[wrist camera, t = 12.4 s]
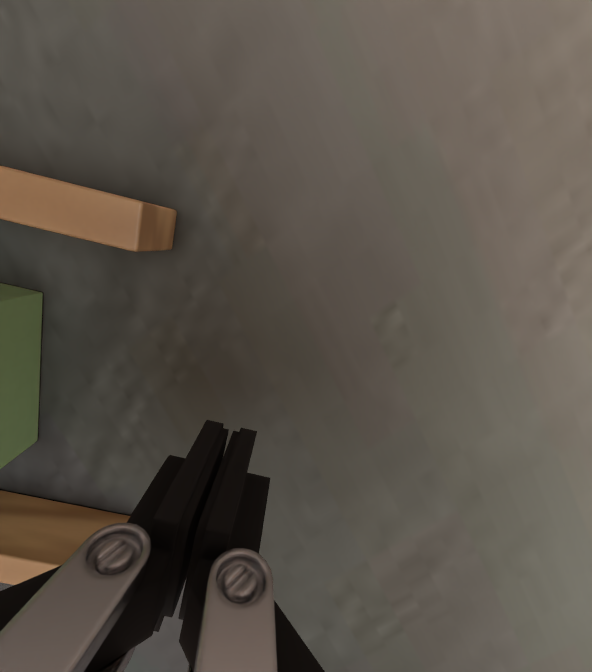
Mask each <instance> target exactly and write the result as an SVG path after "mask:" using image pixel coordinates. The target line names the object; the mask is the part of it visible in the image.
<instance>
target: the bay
mask: <svg viewBox="0 0 592 672" xmlns="http://www.w3.org/2000/svg"><path fill="white" fill-rule="evenodd" d="M176 215H177V212H176V210H174V209H170V208H166V207H162V206H158V205H155V204H151V203H147V202H143V201H139V200H135V199H131V198H127V197H123V196H119V195H115V194H111V193H107V192H103V191H100V190H96V189H92V188H88V187H84V186H80V185H76V184H72V183H68V182H64V181H60V180H56V179H52V178H48V177H44V176H40V175H37V174H33V173H29V172H25V171H21V170H17V169H13V168H9V167H5V166H1V165H0V219H2V220H6V221H10V222H14V223H19V224H23V225H27V226H31V227H35V228H39V229H43V230H47V231H51V232H55V233H59V234H63V235H68V236H72V237H76V238H80V239H84V240H88V241H92V242H96V243H100V244H104V245H108V246H112V247H117V248H121V249H125V250H129V251H133V252H144V251H159V250H171V249H172V244H173V237H174V229H175V222H176ZM129 518H130V516H127V515H122V514H117V513H112V512H107V511H102V510H97V509H92V508H87V507H82V506H77V505H72V504H67V503H62V502H57V501H52V500H47V499H42V498H37V497H32V496H27V495H22V494H17V493H12V492H7V491H2V490H0V582H1V583H7V584H12V585H16V584H19V583H21V582H23V581H26V580H28V579H30V578H33V577H35V576H37V575H40V574H42V573H44V572H47V571H49V570H51V569H54V568H56V567H58V566H61V565H63V564H64V563H65V562H66V561H67V560H68V558H69V557H70V556H71V555H72V554H73V553H74V552H75V551H76V550H77V549H78V548H79V547H80V546H81V545H82V543H83V542H84V541H85V540H86V539H87V538H88V537H90V536H91V535H92V534H93V533H94V532H96V531H97V530H99V529H101V528H103V527H105V526H108V525H111V524H115V523H126V522H127V521H128V519H129Z"/></svg>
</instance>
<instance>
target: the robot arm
mask: <svg viewBox="0 0 592 672" xmlns="http://www.w3.org/2000/svg"><path fill="white" fill-rule="evenodd" d="M256 433H257V431H253V430H249V429H244V428H241V429H240V432H237V431H233V433H232V436H231V438H230V441H229V444H228V446H227V449H226V451H225V454H224V450H225V445H226V440H227V436H228V429H224V428H223V423H219V422H214V421H210V420H207V421H206V422H205V424H204V426H203V428H202V429H201V431H200V433H199V435H198V437H197V439H196V440H195V442H194V444H193V446H192V448H191V450H190V451H189V453H188V455H187V457H186V459H185V458H181V457H176V456H172V455H170V456H168V458H167V459H166V460H165V462H164V464H163V465H162V467H161V468H160V470H159V472H158V473H157V475H156V476H155V478H154V480H153V481H152V483H151V484H150V486H149V487H148V489H147V491H146V492H145V494H144V495H143V497H142V499H141V500H140V502H139V503H138V505H137V507H136V508H135V510H134V511H133V513H132V514H131V516H130V518H129V519H128V521H127V522H126V523H115V524H111V525H108V526H105V527H103V528H101V529H99V530H97V531H96V532H94V533H93V534H92V535H91V536H90V537H88V538H87V539H86V540H85V541H84V542H83V543H82V545H81V546H80V547H79V548H78V549H77V550H76V551H75V552H74V553H73V554H72V555H71V556H70V557H69V558H68V560H67V561H66V562H65V563H64V564H63V565H61V566H58V567H56V568H54V569H51V570H49V571H47V572H44V573H42V574H40V575H37V576H35V577H33V578H30V579H28V580H26V581H23V582H21V583H19V584H16V585H14V586H12V587H9V588H7V589H5V590H2V591H0V672H124V670H125V668H126V666H127V665H128V663H129V661H130V659H131V657H132V655H133V652H134V650H135V647H136V646H137V645H138V644H140V643H141V642H143V641H144V640H146V639H147V638H149V637H150V636H152V634H153V631H157V632H159V629H160V626H161V624H162V621H163V618H164V616H168V617H172V616H173V614H174V611H175V608H176V605H177V603H178V600H179V597H180V594H181V591H182V589H183V586H184V583H185V580H186V583H185V588H184V593H183V598H182V603H181V608H180V613H179V619H182V620H183V624H182V629H181V634H180V639H179V642H180V645H181V647H182V649H183V651H184V653H185V655H186V658H187V660H188V662H189V665H188V670H187V672H324V670H323V669H322V667H321V666H320V664H319V663H318V662H317V660H316V659H315V657H314V656H313V655H312V653H311V652H310V650H309V649H308V647H307V646H306V645H305V643H304V642H303V640H302V639H301V637H300V636H299V635H298V633H297V632H296V630H295V629H294V628H293V626H292V625H291V623H290V622H289V620H288V619H287V618H286V616H285V615H284V613H283V612H282V611H281V609H280V608H279V606H278V605H277V603H276V602H275V601H274V589H273V577H272V572H271V569H270V567H269V565H268V563H267V561H266V560H265V559H264V558H263V557H262V556H261V555H260V554H259V548H260V542H261V535H262V529H263V522H264V516H265V509H266V503H267V496H268V490H269V483H270V478H268V477H264V476H259V475H255V474H251V473H247V470H248V466H249V462H250V458H251V454H252V450H253V446H254V442H255V437H256ZM223 454H224V457H223ZM186 577H187V578H186Z"/></svg>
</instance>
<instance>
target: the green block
mask: <svg viewBox="0 0 592 672" xmlns="http://www.w3.org/2000/svg"><path fill="white" fill-rule="evenodd" d="M42 298H43V293H42V292H38V291H34V290H29V289H25V288H21V287H16V286H12V285H7V284H3V283H0V469H1V468H2V467H4V466H5V465H6V464H8V463H9V462H10V461H12V460H13V459H14V458H16V457H17V456H18V455H19V454H21V453H22V452H23V451H25V450H26V449H27V448H29V447H30V446H31V445H32V444H34V443H35V442H36V441H37V440H38V413H39V384H40V356H41V327H42Z"/></svg>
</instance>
